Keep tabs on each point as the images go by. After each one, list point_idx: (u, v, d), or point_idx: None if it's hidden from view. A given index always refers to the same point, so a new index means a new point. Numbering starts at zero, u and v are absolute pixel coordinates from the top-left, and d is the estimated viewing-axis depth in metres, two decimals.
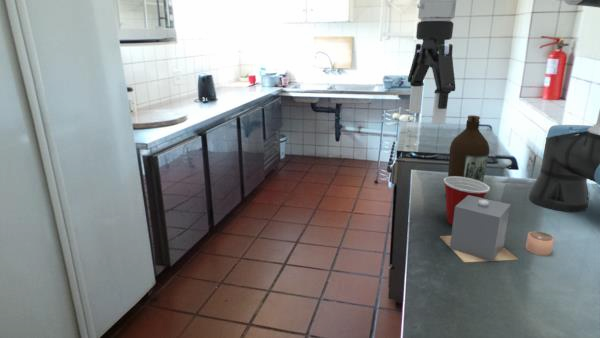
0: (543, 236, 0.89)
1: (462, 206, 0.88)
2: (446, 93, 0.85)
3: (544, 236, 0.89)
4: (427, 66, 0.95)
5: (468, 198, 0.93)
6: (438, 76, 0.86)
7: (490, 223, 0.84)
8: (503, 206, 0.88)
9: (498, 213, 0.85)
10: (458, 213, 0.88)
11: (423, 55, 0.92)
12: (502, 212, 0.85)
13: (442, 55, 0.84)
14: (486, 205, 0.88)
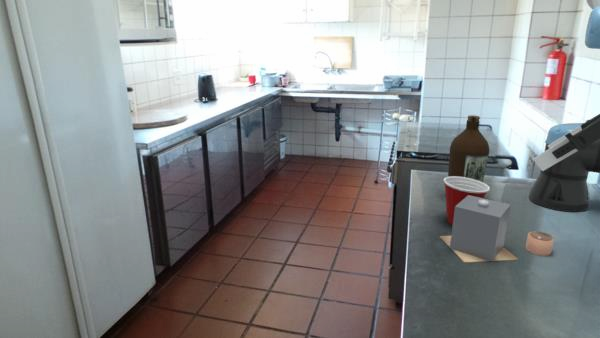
0: (543, 236, 0.89)
1: (462, 206, 0.88)
2: None
3: (544, 236, 0.89)
4: None
5: (468, 198, 0.93)
6: None
7: (490, 223, 0.84)
8: (503, 206, 0.88)
9: (498, 213, 0.85)
10: (458, 213, 0.88)
11: None
12: (502, 212, 0.85)
13: None
14: (486, 205, 0.88)
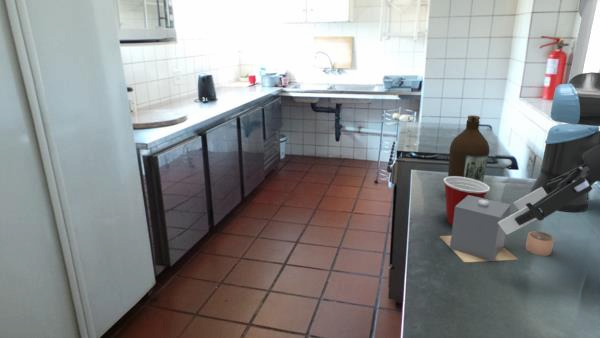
0: (543, 236, 0.89)
1: (462, 206, 0.88)
2: None
3: (544, 236, 0.89)
4: None
5: (468, 198, 0.93)
6: None
7: (490, 223, 0.84)
8: (503, 206, 0.88)
9: (498, 213, 0.85)
10: (458, 213, 0.88)
11: None
12: (502, 212, 0.85)
13: None
14: (486, 205, 0.88)
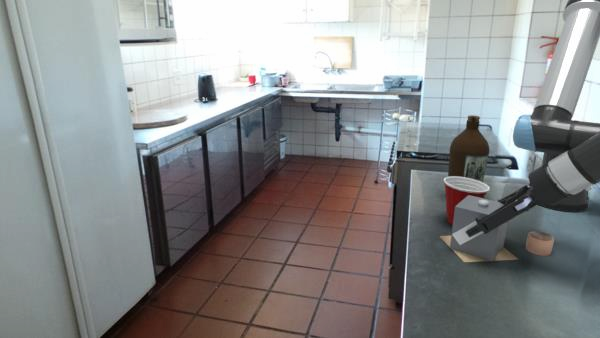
0: (543, 236, 0.89)
1: (462, 206, 0.88)
2: None
3: (544, 236, 0.89)
4: None
5: (468, 198, 0.93)
6: None
7: None
8: None
9: None
10: (458, 213, 0.88)
11: None
12: None
13: None
14: (486, 205, 0.88)
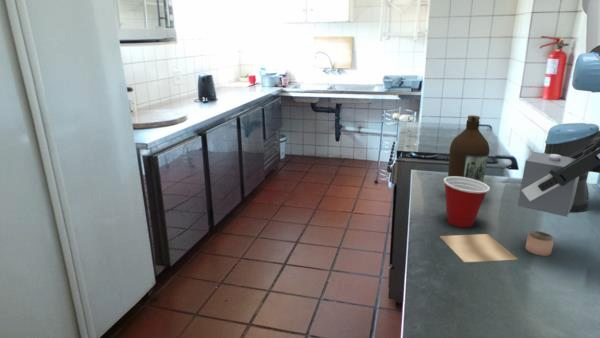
0: (543, 236, 0.89)
1: (533, 160, 0.84)
2: None
3: (544, 236, 0.89)
4: None
5: (536, 154, 0.89)
6: None
7: None
8: None
9: None
10: (529, 167, 0.84)
11: None
12: None
13: None
14: (558, 159, 0.84)
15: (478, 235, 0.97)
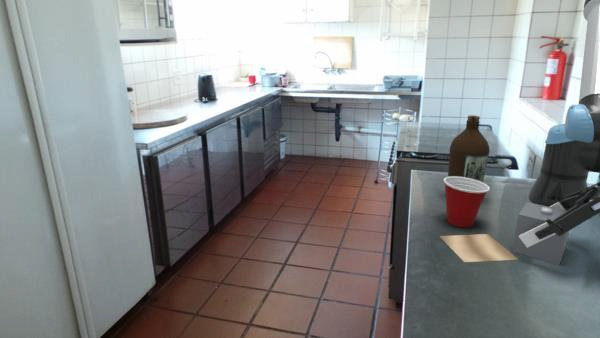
0: None
1: (525, 214, 0.87)
2: None
3: None
4: None
5: (528, 205, 0.92)
6: None
7: None
8: None
9: None
10: (521, 221, 0.87)
11: None
12: None
13: None
14: (550, 213, 0.87)
15: (478, 235, 0.97)
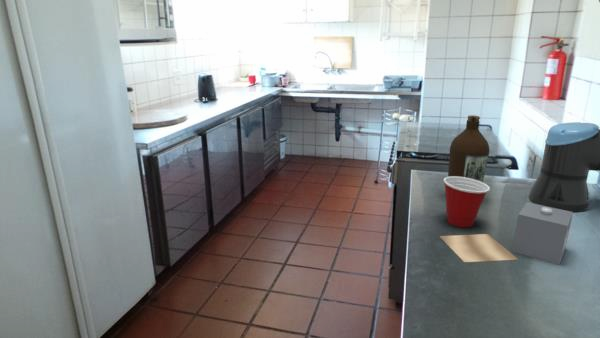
0: None
1: (525, 214, 0.87)
2: None
3: None
4: None
5: (528, 205, 0.92)
6: None
7: (556, 231, 0.84)
8: (566, 214, 0.88)
9: (564, 221, 0.84)
10: (521, 221, 0.87)
11: None
12: (568, 220, 0.85)
13: None
14: (550, 213, 0.87)
15: (478, 235, 0.97)
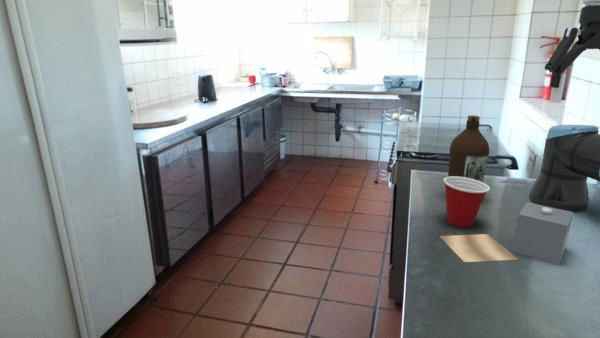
0: None
1: (525, 214, 0.87)
2: None
3: None
4: None
5: (528, 205, 0.92)
6: None
7: (556, 231, 0.84)
8: (566, 214, 0.88)
9: (564, 221, 0.84)
10: (521, 221, 0.87)
11: None
12: (568, 220, 0.85)
13: None
14: (550, 213, 0.87)
15: (478, 235, 0.97)
